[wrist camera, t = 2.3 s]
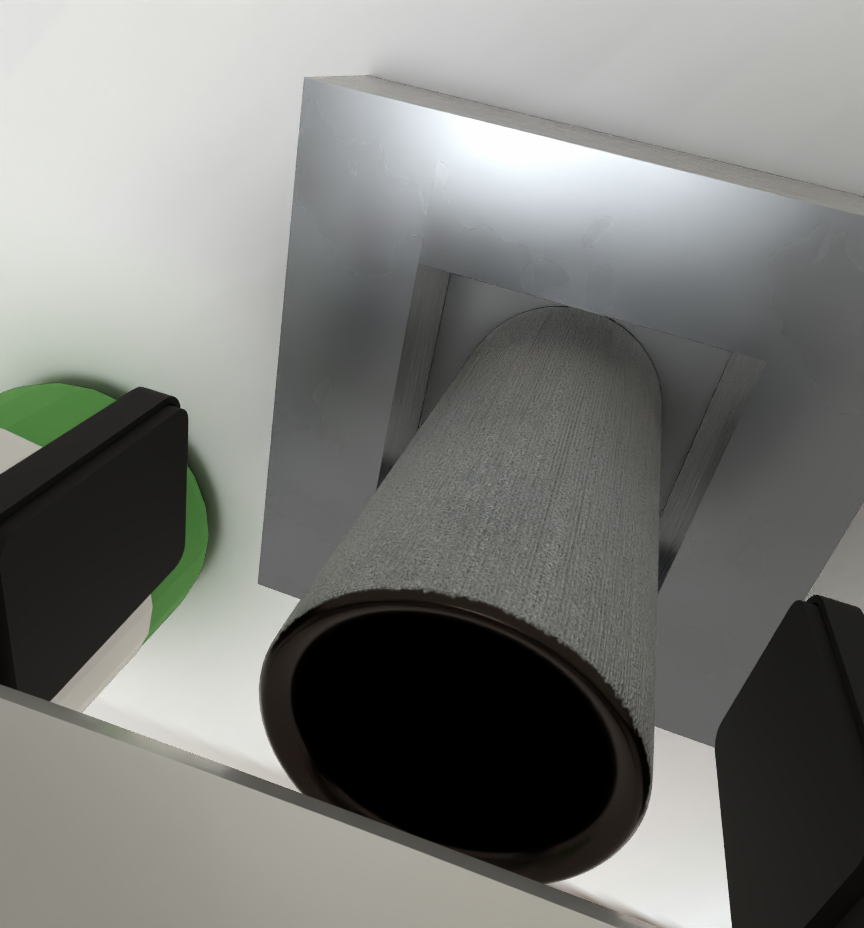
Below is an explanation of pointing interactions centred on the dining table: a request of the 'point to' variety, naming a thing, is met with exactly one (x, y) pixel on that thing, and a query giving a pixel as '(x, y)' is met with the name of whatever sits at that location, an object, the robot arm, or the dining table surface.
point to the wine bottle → (59, 410)
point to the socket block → (588, 288)
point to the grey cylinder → (494, 613)
